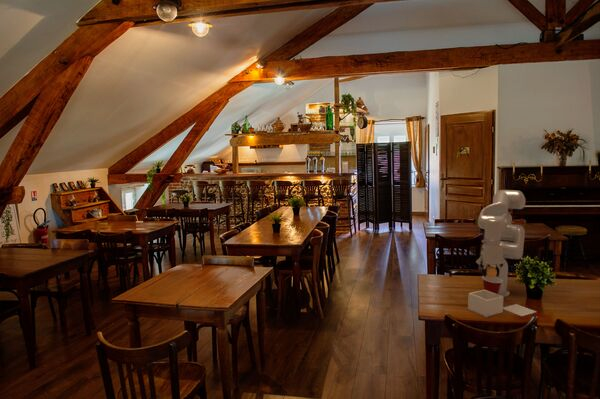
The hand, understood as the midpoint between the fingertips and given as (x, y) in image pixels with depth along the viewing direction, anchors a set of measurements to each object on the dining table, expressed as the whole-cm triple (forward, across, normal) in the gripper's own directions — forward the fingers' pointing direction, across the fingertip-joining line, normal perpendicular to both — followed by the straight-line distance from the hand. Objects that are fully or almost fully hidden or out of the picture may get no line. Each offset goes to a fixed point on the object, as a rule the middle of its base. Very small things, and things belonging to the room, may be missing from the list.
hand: (490, 275), depth 224 cm
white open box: (+20, -2, 0) cm, 20 cm away
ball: (+1, 0, 0) cm, 1 cm away
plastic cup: (+20, +10, +18) cm, 28 cm away
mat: (+20, +16, 0) cm, 25 cm away
